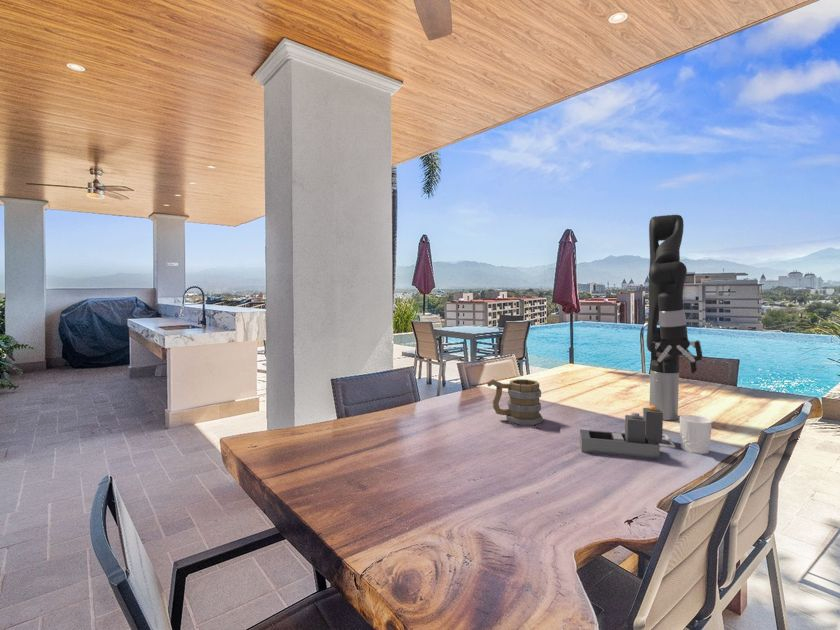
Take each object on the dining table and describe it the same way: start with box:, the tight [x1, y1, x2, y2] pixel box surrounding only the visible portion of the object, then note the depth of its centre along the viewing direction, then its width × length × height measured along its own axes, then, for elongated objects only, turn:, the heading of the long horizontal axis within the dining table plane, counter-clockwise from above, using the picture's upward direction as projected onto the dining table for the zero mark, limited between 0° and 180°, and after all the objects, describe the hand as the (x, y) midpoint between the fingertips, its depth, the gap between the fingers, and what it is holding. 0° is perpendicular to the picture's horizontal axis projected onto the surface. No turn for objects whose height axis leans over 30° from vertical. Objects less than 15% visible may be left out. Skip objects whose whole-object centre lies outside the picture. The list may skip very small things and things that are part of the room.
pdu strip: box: [579, 429, 661, 461], centre depth 123 cm, size 8×20×5 cm, turn 73°
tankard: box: [486, 378, 544, 426], centre depth 155 cm, size 20×13×15 cm, turn 84°
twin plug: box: [624, 412, 646, 443], centre depth 121 cm, size 4×4×11 cm
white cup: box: [679, 414, 713, 455], centre depth 123 cm, size 8×8×10 cm
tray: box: [658, 433, 676, 449], centre depth 131 cm, size 10×10×2 cm
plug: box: [642, 406, 664, 444], centre depth 130 cm, size 4×4×11 cm
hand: (677, 372), depth 139 cm, fingers open, 8 cm apart
